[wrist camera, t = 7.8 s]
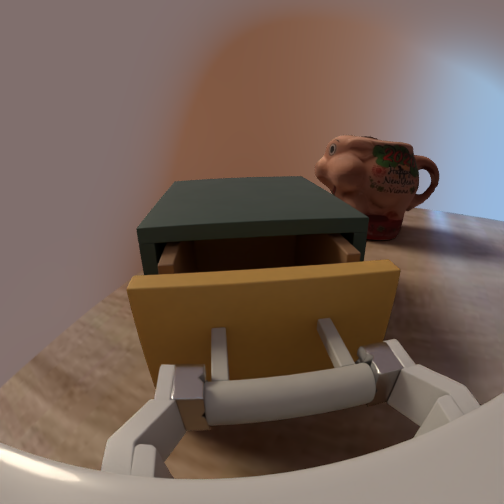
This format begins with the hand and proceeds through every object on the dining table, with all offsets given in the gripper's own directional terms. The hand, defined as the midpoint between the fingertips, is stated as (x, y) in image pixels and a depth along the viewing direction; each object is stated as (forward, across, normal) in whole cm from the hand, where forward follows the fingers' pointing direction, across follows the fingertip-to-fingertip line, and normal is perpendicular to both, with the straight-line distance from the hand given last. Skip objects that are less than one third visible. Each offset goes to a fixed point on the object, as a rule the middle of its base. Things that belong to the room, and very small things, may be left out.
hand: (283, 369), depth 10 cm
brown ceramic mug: (+31, -21, +6) cm, 38 cm away
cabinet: (+15, 0, +6) cm, 16 cm away
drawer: (+7, 0, +5) cm, 9 cm away
